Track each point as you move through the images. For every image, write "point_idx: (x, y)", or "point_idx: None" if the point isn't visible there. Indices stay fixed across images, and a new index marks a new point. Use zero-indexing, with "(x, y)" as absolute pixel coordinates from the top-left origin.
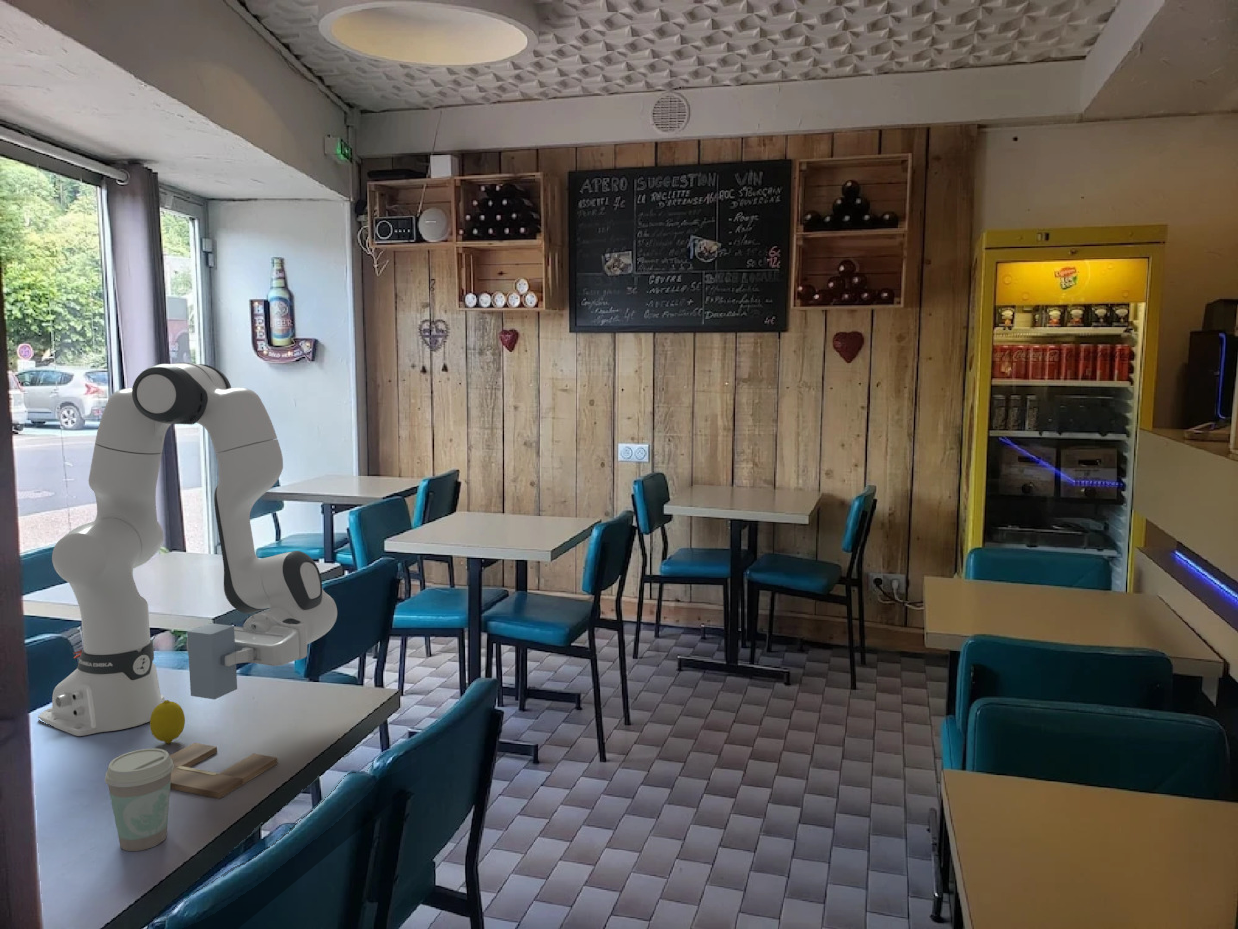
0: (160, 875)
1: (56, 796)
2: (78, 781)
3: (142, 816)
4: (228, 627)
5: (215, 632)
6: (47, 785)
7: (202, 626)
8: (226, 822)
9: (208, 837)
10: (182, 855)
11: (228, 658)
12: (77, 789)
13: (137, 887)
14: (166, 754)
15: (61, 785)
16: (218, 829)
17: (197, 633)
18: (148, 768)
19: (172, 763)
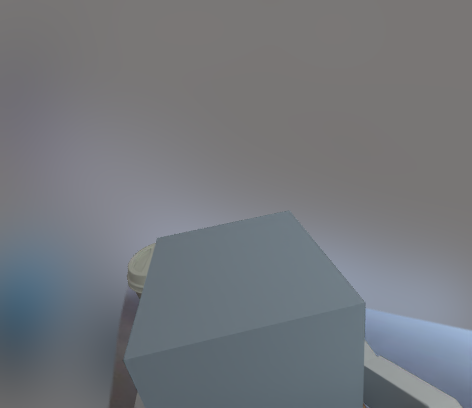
0: (125, 314)
1: (374, 318)
2: (413, 349)
3: None
4: (142, 317)
5: (157, 252)
6: (424, 323)
7: (316, 253)
8: (113, 403)
9: (117, 369)
10: (125, 337)
11: None
12: (380, 339)
13: (133, 299)
14: (136, 272)
15: (411, 332)
16: (114, 386)
17: (232, 224)
18: (134, 255)
19: (131, 283)
